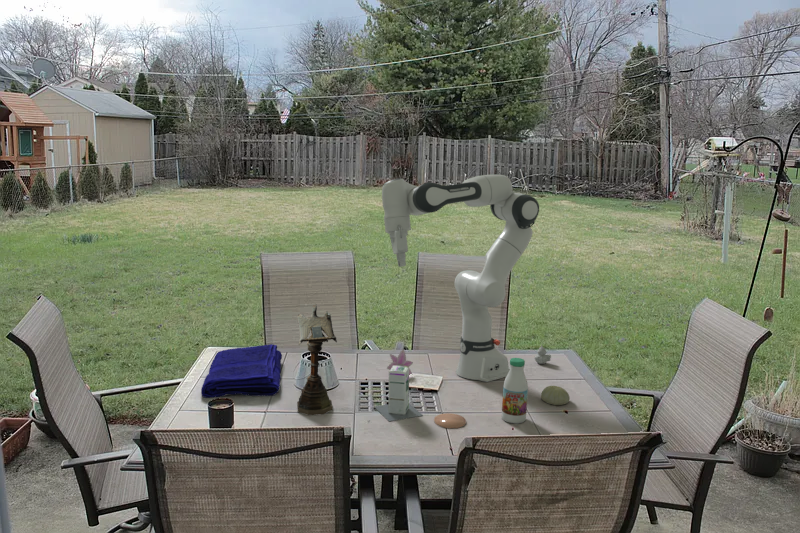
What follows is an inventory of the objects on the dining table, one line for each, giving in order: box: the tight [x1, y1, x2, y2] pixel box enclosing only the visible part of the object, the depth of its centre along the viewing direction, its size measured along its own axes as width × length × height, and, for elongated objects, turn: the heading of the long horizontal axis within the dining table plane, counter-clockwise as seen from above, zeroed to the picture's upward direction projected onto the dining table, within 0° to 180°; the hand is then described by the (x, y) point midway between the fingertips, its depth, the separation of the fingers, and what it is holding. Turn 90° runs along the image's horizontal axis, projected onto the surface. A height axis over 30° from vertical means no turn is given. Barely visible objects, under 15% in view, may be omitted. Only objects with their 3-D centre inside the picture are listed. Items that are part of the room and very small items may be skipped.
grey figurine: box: [534, 344, 552, 365], centre depth 258 cm, size 5×7×8 cm
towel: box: [200, 343, 283, 399], centre depth 233 cm, size 26×36×9 cm
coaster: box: [433, 412, 467, 429], centre depth 202 cm, size 10×10×1 cm
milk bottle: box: [501, 357, 529, 425], centre depth 204 cm, size 8×8×20 cm
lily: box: [386, 349, 414, 375], centre depth 240 cm, size 11×11×9 cm
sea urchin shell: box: [540, 385, 571, 406], centre depth 221 cm, size 9×8×8 cm
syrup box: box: [387, 366, 410, 415], centre depth 208 cm, size 6×6×14 cm
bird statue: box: [296, 303, 338, 416], centre depth 204 cm, size 17×13×35 cm
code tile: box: [374, 403, 424, 422], centre depth 209 cm, size 12×12×1 cm
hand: (402, 266), depth 220 cm, fingers open, 8 cm apart
